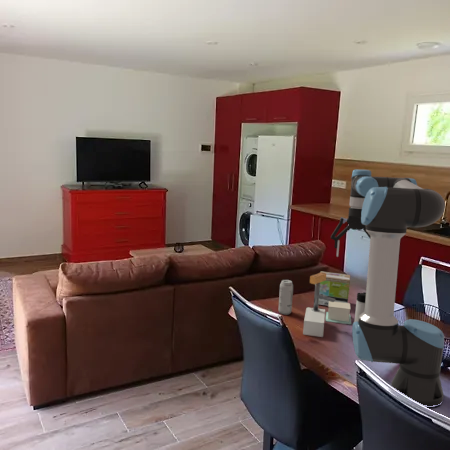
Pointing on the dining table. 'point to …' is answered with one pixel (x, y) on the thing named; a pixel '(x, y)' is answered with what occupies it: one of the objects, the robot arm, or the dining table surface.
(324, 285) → the tea box
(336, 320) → the mat
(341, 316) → the cover
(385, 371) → the dining table surface
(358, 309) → the travel mug
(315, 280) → the t key
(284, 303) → the energy drink can
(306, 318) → the block
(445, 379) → the dining table surface
